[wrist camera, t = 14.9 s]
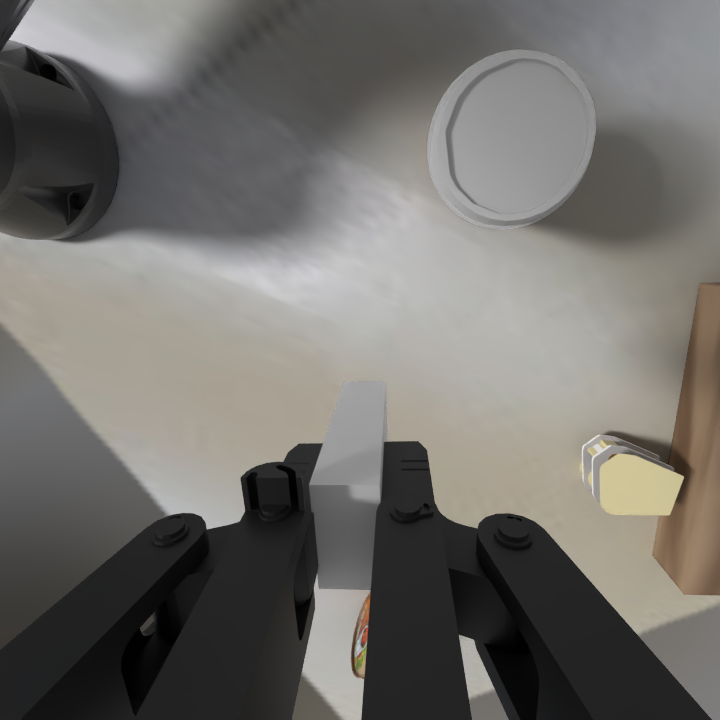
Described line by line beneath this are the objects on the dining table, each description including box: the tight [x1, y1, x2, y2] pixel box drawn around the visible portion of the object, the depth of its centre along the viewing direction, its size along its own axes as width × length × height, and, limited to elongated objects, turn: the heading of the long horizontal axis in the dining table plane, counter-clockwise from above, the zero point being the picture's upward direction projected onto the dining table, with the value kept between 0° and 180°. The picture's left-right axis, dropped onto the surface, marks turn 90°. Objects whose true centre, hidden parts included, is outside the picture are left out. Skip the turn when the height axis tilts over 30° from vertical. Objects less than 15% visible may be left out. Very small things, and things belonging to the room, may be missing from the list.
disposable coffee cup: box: [427, 49, 596, 230], centre depth 29 cm, size 10×10×12 cm
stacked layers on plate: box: [580, 434, 684, 515], centre depth 39 cm, size 10×9×6 cm
